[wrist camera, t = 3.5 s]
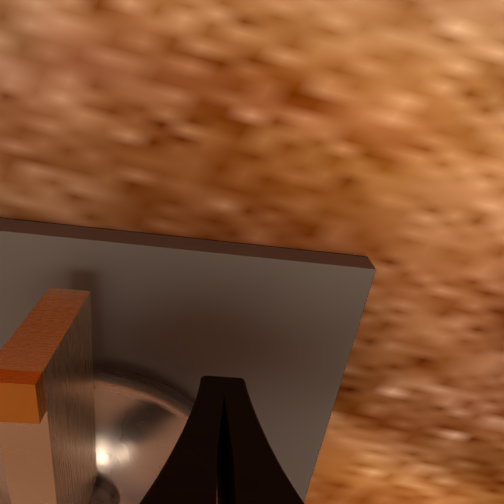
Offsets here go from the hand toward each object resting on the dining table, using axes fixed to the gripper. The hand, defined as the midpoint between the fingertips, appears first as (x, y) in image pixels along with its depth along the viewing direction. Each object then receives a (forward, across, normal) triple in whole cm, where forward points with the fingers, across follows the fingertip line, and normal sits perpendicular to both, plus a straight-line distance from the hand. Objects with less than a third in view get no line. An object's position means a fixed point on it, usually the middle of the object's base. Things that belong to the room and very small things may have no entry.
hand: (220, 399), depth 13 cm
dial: (+2, +5, +5) cm, 7 cm away
